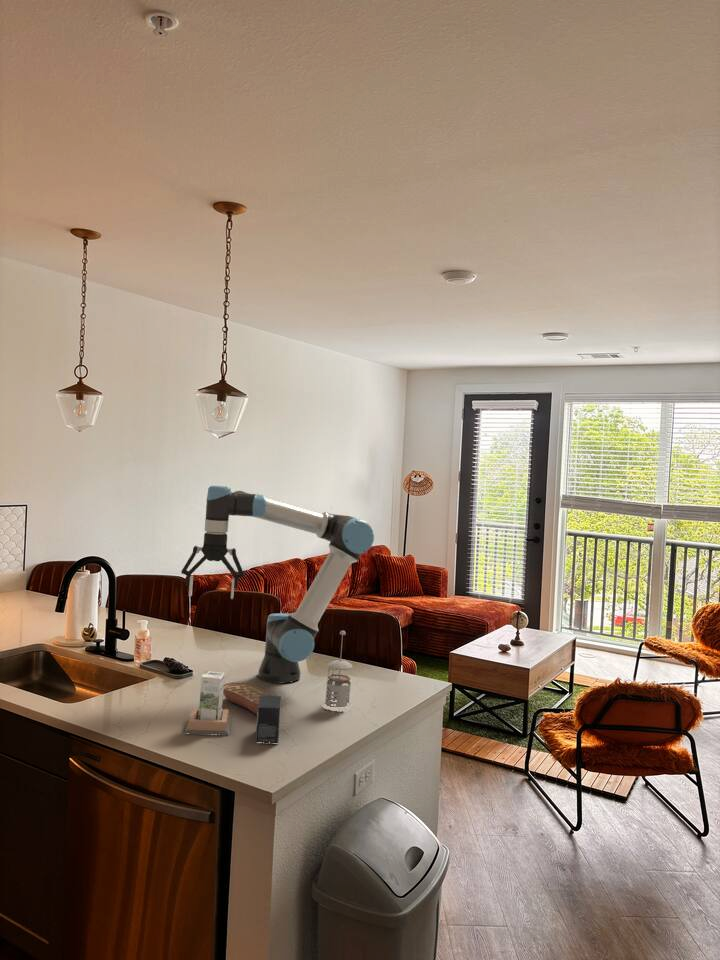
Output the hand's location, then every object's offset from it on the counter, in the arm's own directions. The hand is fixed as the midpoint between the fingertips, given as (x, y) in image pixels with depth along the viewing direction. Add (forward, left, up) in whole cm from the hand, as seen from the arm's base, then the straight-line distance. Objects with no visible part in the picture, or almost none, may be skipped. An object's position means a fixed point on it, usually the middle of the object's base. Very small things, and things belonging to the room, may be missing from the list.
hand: (211, 596), depth 238 cm
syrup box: (-4, +31, -31) cm, 44 cm away
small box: (-21, +37, -32) cm, 53 cm away
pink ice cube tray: (-15, +13, -32) cm, 38 cm away
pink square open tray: (-4, +31, -32) cm, 45 cm away
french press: (-43, +9, -32) cm, 54 cm away
